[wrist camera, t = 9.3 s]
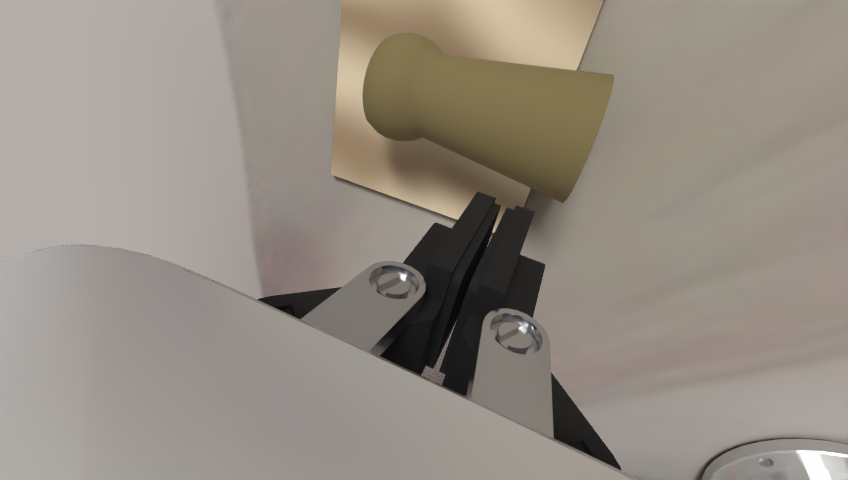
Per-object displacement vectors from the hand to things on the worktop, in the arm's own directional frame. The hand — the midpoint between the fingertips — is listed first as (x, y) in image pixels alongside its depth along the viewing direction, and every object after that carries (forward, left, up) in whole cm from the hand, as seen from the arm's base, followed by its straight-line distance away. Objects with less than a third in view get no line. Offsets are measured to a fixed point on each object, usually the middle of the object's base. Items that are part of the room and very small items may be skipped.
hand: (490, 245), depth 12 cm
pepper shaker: (0, -3, -10) cm, 11 cm away
